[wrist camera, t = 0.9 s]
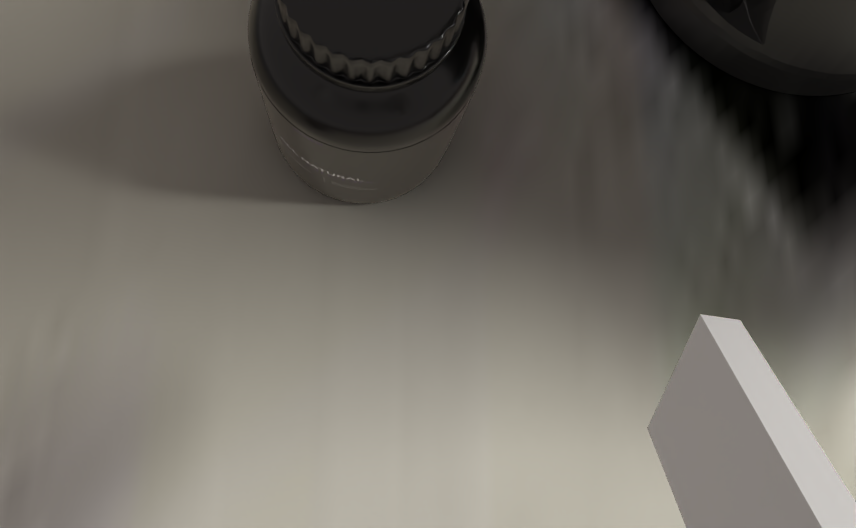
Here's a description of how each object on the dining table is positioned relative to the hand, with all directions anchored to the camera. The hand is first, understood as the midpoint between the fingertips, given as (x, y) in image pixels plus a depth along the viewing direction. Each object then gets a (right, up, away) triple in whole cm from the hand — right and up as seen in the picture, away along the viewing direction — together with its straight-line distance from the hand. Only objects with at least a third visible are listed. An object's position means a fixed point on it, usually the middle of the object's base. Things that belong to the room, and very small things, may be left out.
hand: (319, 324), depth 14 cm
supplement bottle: (-1, +7, +17) cm, 18 cm away
